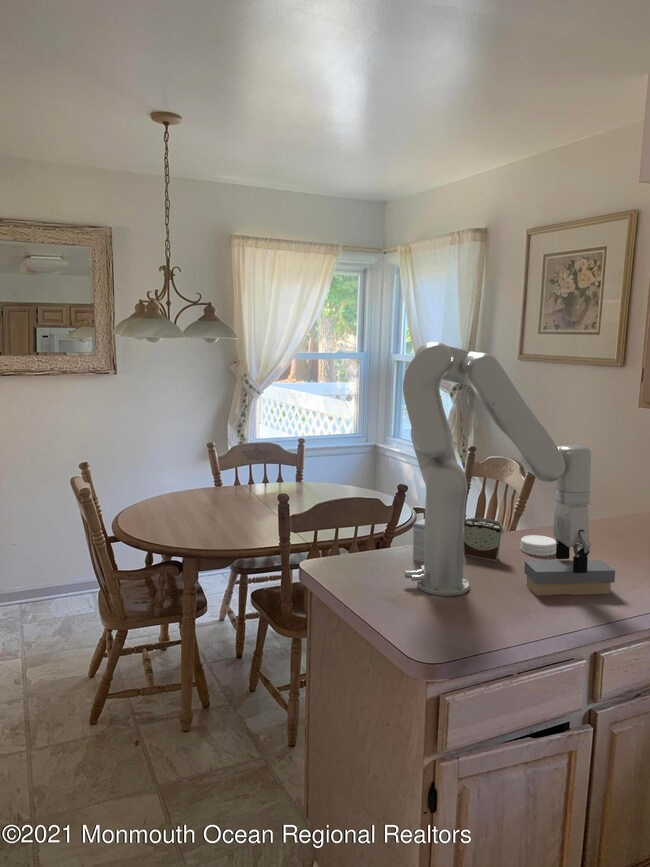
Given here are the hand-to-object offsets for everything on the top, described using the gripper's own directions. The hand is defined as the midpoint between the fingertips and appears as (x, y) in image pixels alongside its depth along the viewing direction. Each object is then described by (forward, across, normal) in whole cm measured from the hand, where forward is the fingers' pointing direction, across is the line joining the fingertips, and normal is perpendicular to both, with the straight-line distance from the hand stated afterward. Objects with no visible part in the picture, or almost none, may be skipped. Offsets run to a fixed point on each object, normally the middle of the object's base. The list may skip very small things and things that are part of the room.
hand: (571, 565), depth 154 cm
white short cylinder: (+6, -29, +3) cm, 30 cm away
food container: (+6, -26, -14) cm, 30 cm away
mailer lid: (+3, 0, -1) cm, 3 cm away
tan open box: (+6, 0, -1) cm, 6 cm away
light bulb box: (+6, -25, -29) cm, 39 cm away
